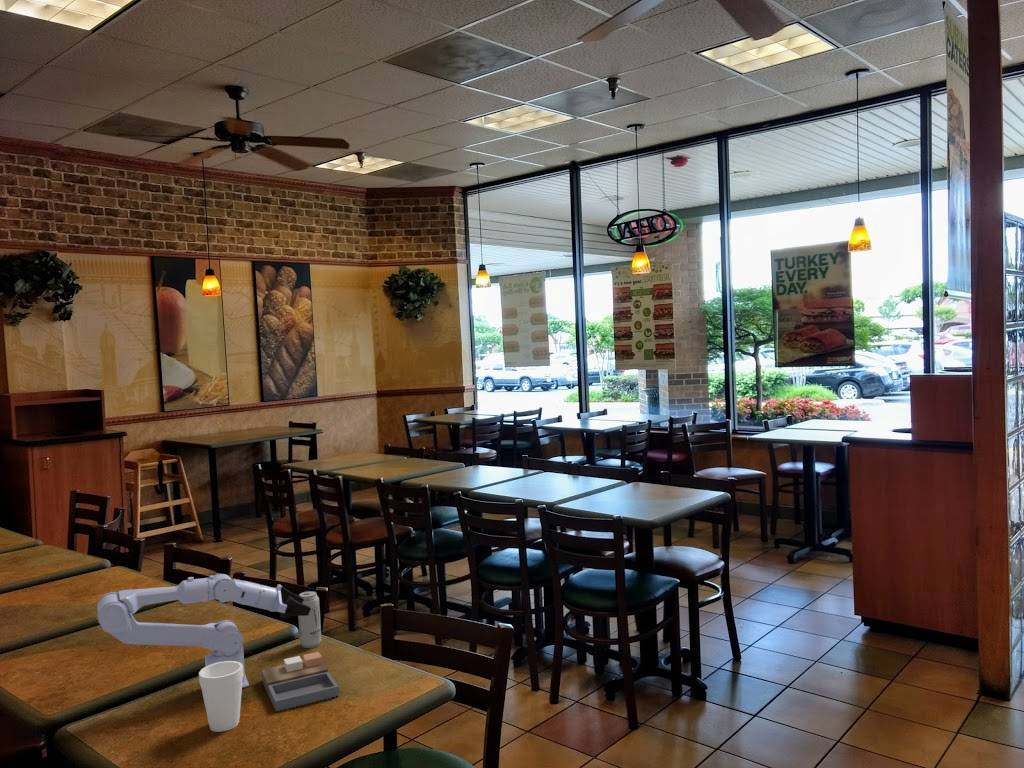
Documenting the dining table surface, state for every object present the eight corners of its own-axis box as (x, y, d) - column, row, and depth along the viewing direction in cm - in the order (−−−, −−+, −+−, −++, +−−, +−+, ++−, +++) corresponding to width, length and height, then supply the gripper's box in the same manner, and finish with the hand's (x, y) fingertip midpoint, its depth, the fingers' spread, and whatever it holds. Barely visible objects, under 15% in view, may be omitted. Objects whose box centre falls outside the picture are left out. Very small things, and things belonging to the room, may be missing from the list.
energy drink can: (315, 649, 219) (312, 597, 219) (296, 648, 221) (293, 597, 220) (325, 641, 225) (322, 590, 225) (306, 640, 226) (303, 590, 226)
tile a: (287, 672, 197) (286, 664, 197) (284, 666, 200) (283, 659, 200) (303, 668, 199) (302, 661, 199) (299, 663, 202) (299, 655, 202)
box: (276, 711, 182) (275, 701, 182) (268, 695, 191) (268, 685, 191) (338, 696, 188) (338, 686, 188) (328, 681, 198) (328, 671, 197)
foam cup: (210, 716, 181) (206, 662, 180) (250, 713, 182) (247, 659, 181) (197, 736, 171) (193, 679, 171) (239, 733, 172) (236, 676, 171)
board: (268, 694, 191) (267, 683, 191) (262, 680, 199) (261, 669, 199) (328, 680, 198) (328, 669, 198) (320, 667, 206) (319, 656, 206)
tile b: (306, 667, 199) (306, 660, 199) (303, 662, 203) (303, 655, 203) (322, 664, 201) (321, 656, 201) (318, 659, 205) (318, 651, 204)
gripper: (268, 588, 195) (318, 600, 201) (257, 573, 207) (304, 584, 214) (257, 615, 194) (308, 627, 200) (247, 598, 207) (295, 609, 213)
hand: (305, 606), depth 207 cm, fingers open, 7 cm apart
